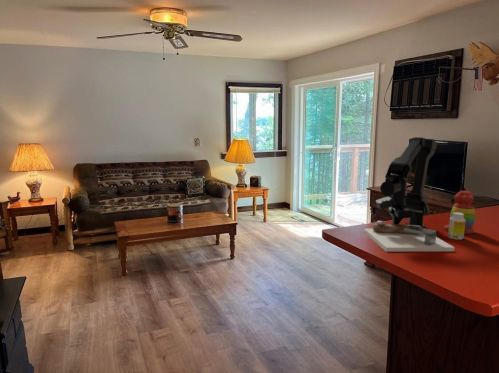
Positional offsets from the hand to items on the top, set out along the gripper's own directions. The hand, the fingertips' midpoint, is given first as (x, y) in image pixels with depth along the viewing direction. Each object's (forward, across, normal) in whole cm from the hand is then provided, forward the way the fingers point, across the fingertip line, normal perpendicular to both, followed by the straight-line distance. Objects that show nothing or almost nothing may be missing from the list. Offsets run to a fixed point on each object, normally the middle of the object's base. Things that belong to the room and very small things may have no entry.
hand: (395, 227), depth 154 cm
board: (+2, +10, 0) cm, 10 cm away
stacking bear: (+3, -5, +31) cm, 31 cm away
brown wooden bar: (0, +3, -1) cm, 3 cm away
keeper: (0, +14, +4) cm, 15 cm away
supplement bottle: (+3, +5, +23) cm, 24 cm away
